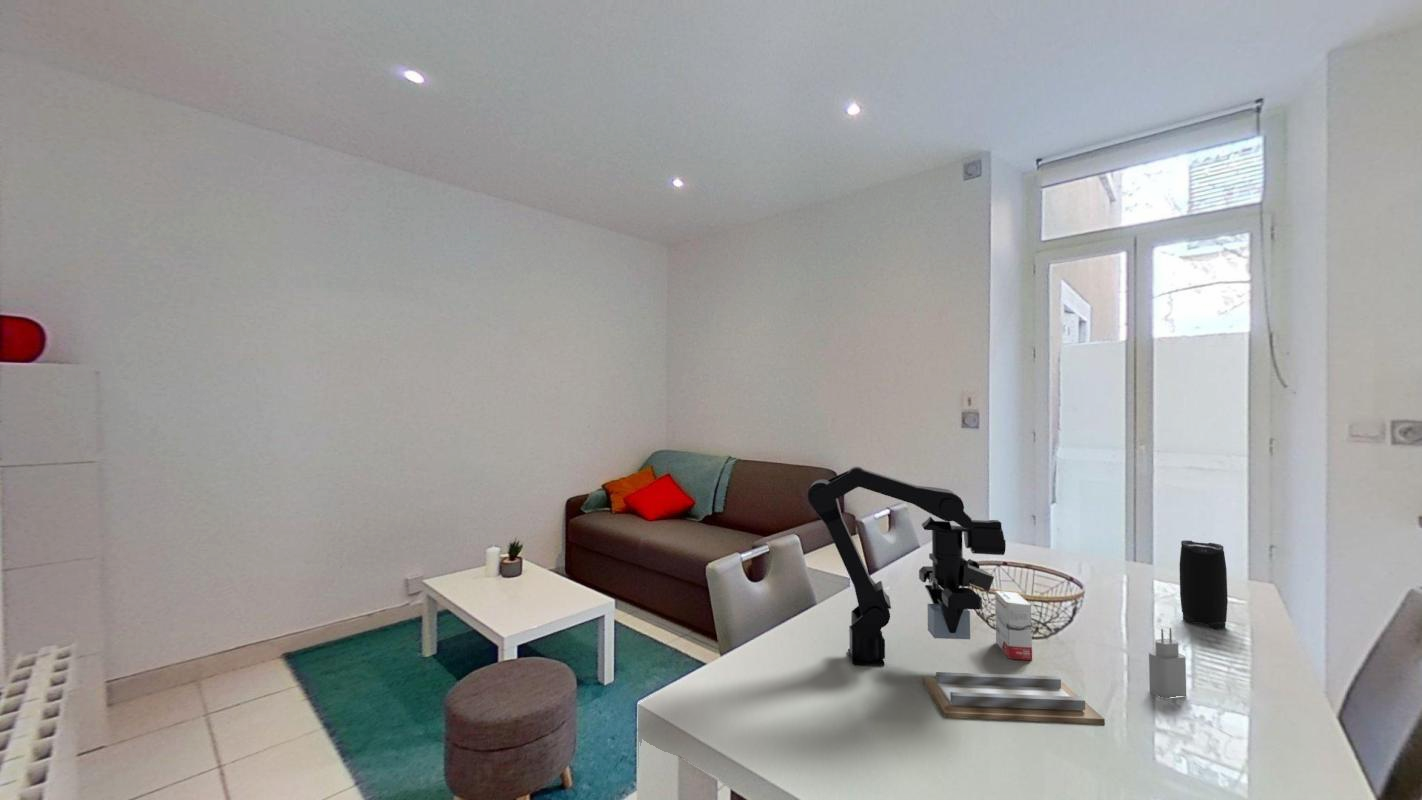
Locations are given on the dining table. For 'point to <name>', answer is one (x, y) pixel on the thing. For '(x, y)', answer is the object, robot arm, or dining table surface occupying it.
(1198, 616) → the portable speaker
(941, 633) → the block
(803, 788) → the dining table surface
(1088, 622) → the dining table surface
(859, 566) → the robot arm
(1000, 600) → the ink box
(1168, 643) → the power adapter
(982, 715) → the rail mount
